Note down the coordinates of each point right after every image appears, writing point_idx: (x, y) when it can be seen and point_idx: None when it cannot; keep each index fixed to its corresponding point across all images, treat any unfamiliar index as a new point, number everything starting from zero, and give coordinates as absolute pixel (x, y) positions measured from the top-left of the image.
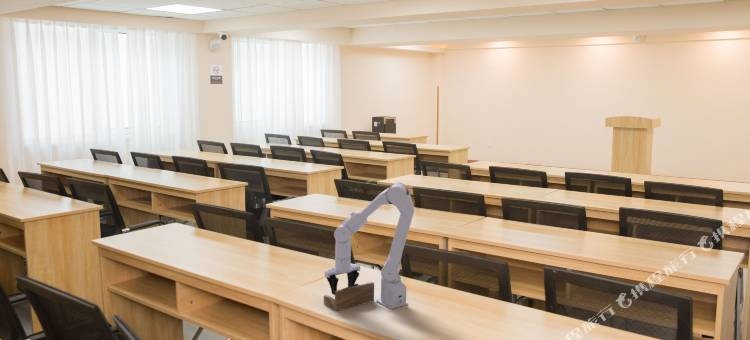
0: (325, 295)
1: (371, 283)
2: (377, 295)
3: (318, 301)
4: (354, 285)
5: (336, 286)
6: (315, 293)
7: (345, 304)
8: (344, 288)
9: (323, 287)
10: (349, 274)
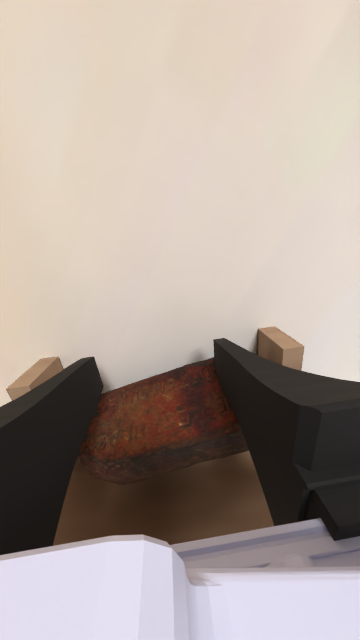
0: (18, 392)
1: None
2: (328, 369)
3: (15, 321)
4: (234, 434)
5: (71, 457)
6: (20, 167)
7: None
8: (136, 461)
9: (124, 42)
10: (278, 451)
